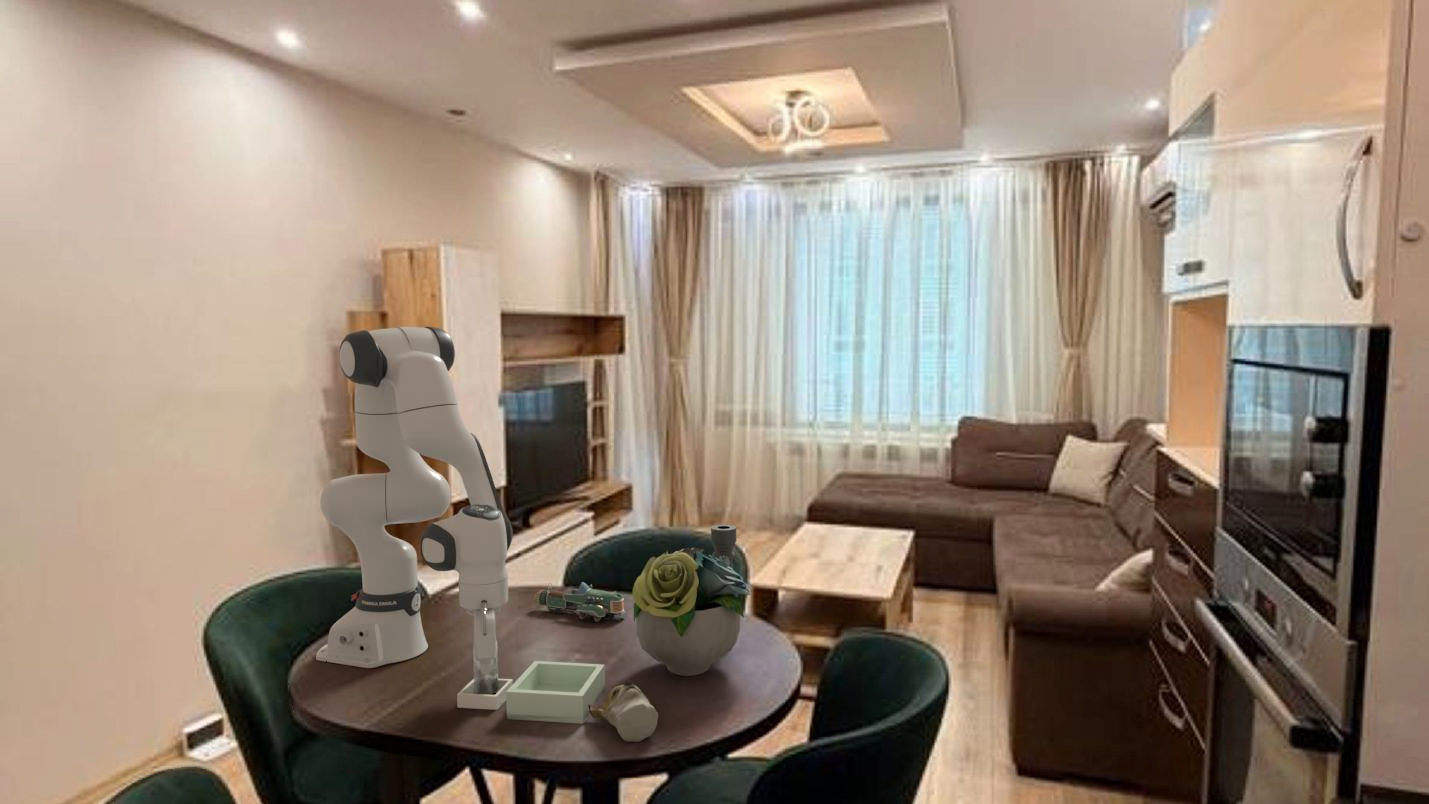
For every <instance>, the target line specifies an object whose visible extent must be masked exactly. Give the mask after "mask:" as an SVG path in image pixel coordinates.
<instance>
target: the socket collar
mask: <svg viewBox="0 0 1429 804" xmlns="http://www.w3.org/2000/svg"><path fill="white" fill-rule="evenodd" d="M498 683H499V689H498V690H497V691H496V692H495V693H496V694H477V693H475V692H474V678H473V679H472V680H470V681H469V682H468V683H467V684H466V685H465V686H464V687H463V688H462V689H461V690H460V691H459V692H457V694H456V696H457V697H456V701H457V705H456V706H457V708H459V709H461V708H463V709H476V710H495V711H497V710H499V708H500V707H501V706H502V705H503V704H504V703H505V702H506V691H507V690H508V689H509V688H510V687H511V686H512V685H513V684H514V679H512V678H498Z"/></svg>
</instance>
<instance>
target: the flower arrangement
mask: <svg viewBox="0 0 1429 804" xmlns="http://www.w3.org/2000/svg"><path fill="white" fill-rule="evenodd" d="M705 550H706V549H705V548H700V547H699V548H698V547H697V548H696V547H692V548H682V549H680V550H679V551H677V550H676V551H674V552H671V553H670V554H669V553H668V552H669V551H668V550H667V551H666V552H663V553H661V555H659V556H658V557H655V556H651V557H650V558H649V560H648V561H647V562H646V564H645V566H644V568H643V569H642V572H641V574H640V575H639V576H638V577H636V580H635V582H634V583H633V587H632V598H633V600H634V603H633V622H635V623H636V632H637V633H636V634H637V637H638V641H639V644H640V646H641V649H642V650H643V651H644V652H645V653H646V654H648V655H649V656H650V657H651V658H653V659H654V660H656V661H657V662H659V663H661V664H664V665H666V667H667V668H666V669H667V670H668V671H669V672H670V673H672V674H674V675H677V676H683V677H688V676H689V677H690V676H691V677H692V676H698V675H702V674H704V673H706V672H707V671H708V670H709V668H710V667H711V664H713V663H715V662H717V661H719V660H722V659H724V657H726V655H728V654H729V653H730V652H731V651H732V649H733V648H734V647H735V645H736V643H737V640H738V638H737V637H739V634H740V631H741V617H742V618H745V614H744V611H743V604H742V600H741V599H740V598H739V596H738V597H736V596H737V595H741V594H742V595H748V596H752V594H751V591H753V588H752V585H750V584H748V583H746V582H744V577H743V576H742V575H740V574H739V573H737V572H736V571H735V570H734V569H733V567H732V568H730V567H729V565H730V561H729V558H728V557H727V556H723V558H724V559H723V560H722V557H721V556H720V557H719V558H718V559H717V558H716V557H715V556H713V555H712V554H708V556H707V555H706V551H705ZM749 589H751V591H750V590H749Z"/></svg>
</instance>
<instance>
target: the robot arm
mask: <svg viewBox="0 0 1429 804" xmlns="http://www.w3.org/2000/svg"><path fill="white" fill-rule="evenodd" d="M455 356H456V352H455V345H454V341H453V340H452V337H451V336H450V334H448V332H447V331H446V330H445V329H441V328H439V327H435V326H424V327H419V326H418V327H417V326H394V327H389V328H380V329H373V330H365V329H361V330H359V331H354V332H351V333H348V334H346V336H344V338H343V340H342V341H341V343H340V348H339V363H340V368H341V370H342V372H343V375H344V376H345V377H346V378H347V379H349V380H350V381H351V382H353V383H354V384H355V387H354V420H355V421H354V422H355V425H354V426H355V439H356V441H355V442H356V445H357V448H358V449H359V451H361V452H362V453H364V455H366V456H368V457H370V458H372V459H375V460H377V461H380V462H382V463H384V464H385V465H386V466H387V467H388V469H389V471H388V472H384V473H383V472H382V473H381V472H380V473H379V472H378V473H363V474H362V473H361V474H360V473H359V474H350V475H346V476H343V477H338V478H334V479H331V480H330V481H329V482H328V483H327V484H326V485H325V487H324V488H323V490H322V493H321V496H320V501H319V503H320V509H321V513H322V515H323V517H324V518H325V519H326V521H327V522H328V523H329V524H330V525H333V526H334V527H336V528H338V529H339V530H341V531H342V532H343V533H344V534H345V535H347V537H348V539H350V541H352V544H353V545H354V546H355V548H356V551H357V554H358V557H359V562H360V569H361V578H362V579H361V582H362V588H361V589H358V590H357V591H356V593H354V594H353V595H352V594H351V596H350V598H351V601H352V602H353V601H354V600H356V603H355V605H354V607H353V608H352V609H350V610H349V611H347V613H345V614H344V615H343V616H342V617H341V618H339V619H338V620H337V621H336V622H335V623H333V625H332V626H331V627H330V629H329V633H328V637H327V644H325V645H323V646H322V647H321V648H320V649H318V650H317V652H316V655H315V660H316V661H320V662H326V661H327V663H334V664H339V665H344V666H345V665H346V666H353V667H357V668H358V667H359V668H364V669H374V668H378V667H380V666H381V667H382V666H384V665H388V664H393V663H398V662H403V661H407V660H410V659H413V658H415V657H417V656H420V655H422V654H423V653H424V652H426V650H427V649H428V647H429V643H428V642H427V639H426V636H425V633H424V628H423V625H422V624H423V623H422V619H421V604H422V603H421V601H422V600H421V585H420V583H419V581H418V580H419V579H418V578H419V577H418V576H419V575H418V555H417V551H416V549H415V547H414V546H413V545H412V544H411V543H409V542H407V541H405V540H404V539H400V538H398V537H396V536H393V535H391V534H389V532H387V530H386V528H385V526H388V525H397V524H409V523H411V524H413V523H421V522H426V521H431V520H434V519H437V518H441V517H442V516H443V515H444V514H445V513H446V512H447V510H448V508H449V506H450V504H451V498H452V492H451V491H452V489H451V487H450V485H449V482H448V481H447V480H446V478H445V477H444V476H443V474H441V473H439V472H437V471H436V470H435V469H433V468H432V467H431V466H430V465H428V463H427V462H426V461H425V460H424V459H423V458H422V456H423V457H424V456H425V457H427V458H431V459H434V460H438V461H442V462H444V463H447V464H449V465H451V466H452V467H453V468H454V469H455V470H456V471H457V472H458V473H459V475H460V476H461V477H460V478H461V479H462V484H463V486H464V488H465V492H466V494H467V497H468V501H469V504H470V505H466V506H464V507H462V508H461V509H459V511H458V513H457V514H455V515H453V516H450V517H447V518H444V519H440V520H438V521H434V522H433V523H429V524H428V525H427V526H426V527H425V528H424V529H423V532H422V534H421V538H420V542H419V546H420V547H419V549H420V555H421V558H422V560H423V562H424V563H425V564H426V565H427V566H428V567H429V568H431V569H432V570H434V571H437V572H448V571H449V572H450V571H456V572H457V573H458V601H459V602H458V605H459V606H460V607H461V608H463V609H466V614H467V615H469V616H471V617H473V636H474V637H473V643H474V650H475V659H476V661H480V664H481V673H489V672H491V660H492V659H495V658H496V640H497V637H496V635H497V634H496V632H497V631H496V630H497V629H496V627H497V626H496V614H498V613H500V612H501V611H502V609H503V607H502V606H504V605H505V604H507V603H508V602H509V573H508V570H507V568H506V560H507V556H508V552H509V549H510V548H511V545H512V542H513V536H514V532H513V526H512V524H511V521H510V520H509V517H508V515H507V514H506V512H505V510H504V508H503V505H502V503H501V500H500V498H499V495H498V491H497V488H496V485H495V482H494V478H493V476H492V473H491V470H490V467H489V463H488V461H487V458H486V455H485V453H484V449H483V447H482V445H481V443H480V441H479V439H478V438H477V436H476V435H475V434H473V433H472V432H470V430H468V427H467V426H466V425H465V423H464V421H463V419H462V416H461V414H460V410H459V406H458V400H457V396H456V391H455V388H454V385H453V382H452V378H451V376H450V372H449V371H450V370H451V368H452V367H453V365H454V362H455Z"/></svg>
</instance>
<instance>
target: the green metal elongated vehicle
mask: <svg viewBox="0 0 1429 804" xmlns="http://www.w3.org/2000/svg"><path fill="white" fill-rule="evenodd" d="M550 589H551V590H550ZM624 600H625V598H624V597H623V595H622V594H620V593H618V592H617V591H613V592H611V591H605V590H599V589H593V584H592V583H591V584H590V585H588V584H587V583H586V582H584V581H582V582H581V583H580V584H579V587H578V589H577V588H574V589H571V593H570V592H565V591H560V590H559V591H558V590H555V589H554V590H553V585H552V583H551V582H549V583H548V585H547V590H544V589H541V590H539V591H537V592H536V593H535V595H534V601H535V602H536V603H537V604H538V605H540V606H546V607H547V608H548V609H547V610H548V611H549V612H551V613H552V614H556V615H557V614H562V613H564V612H565V611H567V613H576V611H577V612H578V615H579V617H578V618H579V619H580V620H584V619H585V618H586V617H587V614H588V616H590V617H591V616H593V619H594V621H595V622H600V621H601V619H602V617H603V618H604V619H605V620H607V621H611V619H610V618H606V615H607V614H608V616H609V617H613V618H615V619H613V621H615V622H620V621H622V620H624V617H625V616H626V615H627V612H626V610H625V609H624ZM555 612H557V613H555ZM606 613H607V614H606ZM612 614H613V615H612ZM617 619H619V620H617Z"/></svg>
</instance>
